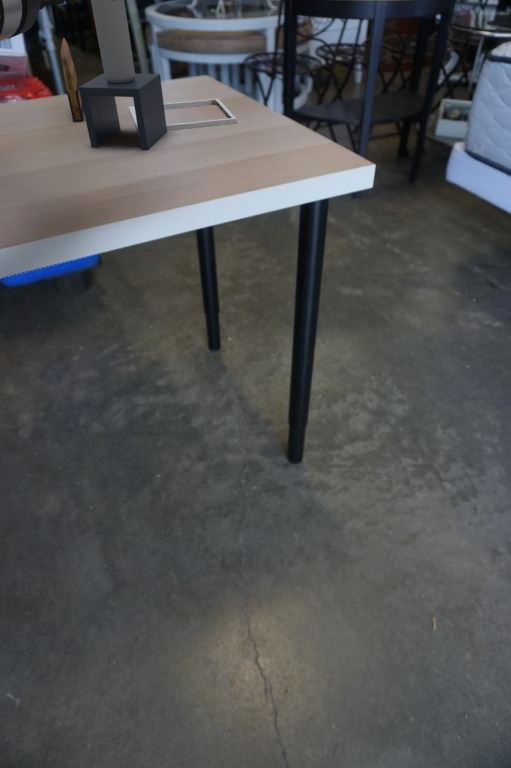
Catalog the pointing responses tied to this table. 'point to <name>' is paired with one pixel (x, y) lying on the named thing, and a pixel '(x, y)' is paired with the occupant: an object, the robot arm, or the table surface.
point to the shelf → (104, 110)
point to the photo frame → (191, 124)
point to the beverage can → (114, 40)
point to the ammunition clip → (71, 84)
